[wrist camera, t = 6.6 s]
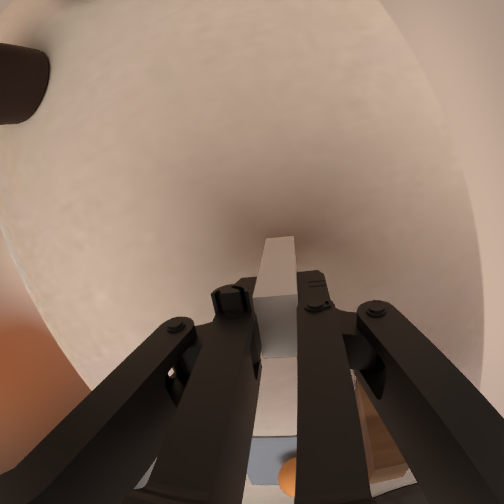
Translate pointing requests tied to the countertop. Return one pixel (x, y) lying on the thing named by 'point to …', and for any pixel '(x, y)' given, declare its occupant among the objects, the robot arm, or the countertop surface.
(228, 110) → the countertop surface
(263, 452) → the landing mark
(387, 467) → the post
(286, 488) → the ball
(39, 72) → the bottle
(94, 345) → the countertop surface
